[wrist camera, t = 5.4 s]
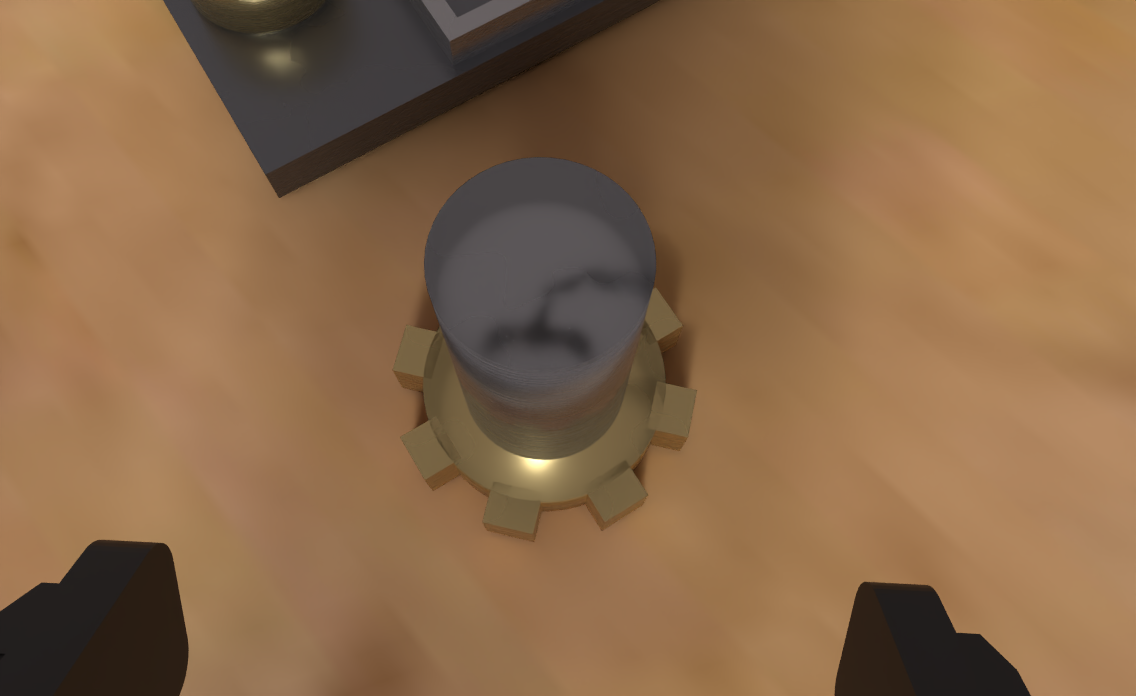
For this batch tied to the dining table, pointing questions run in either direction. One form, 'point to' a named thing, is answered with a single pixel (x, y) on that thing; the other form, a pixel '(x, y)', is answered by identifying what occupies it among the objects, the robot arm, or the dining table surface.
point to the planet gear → (543, 346)
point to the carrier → (367, 66)
